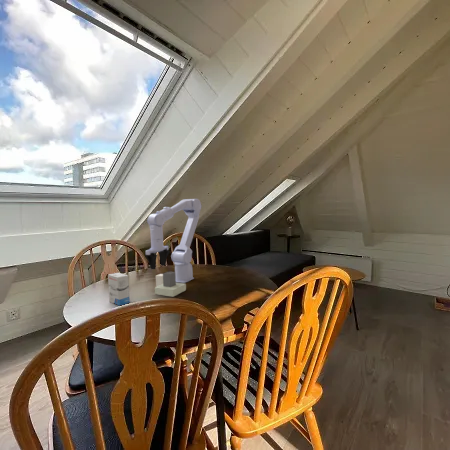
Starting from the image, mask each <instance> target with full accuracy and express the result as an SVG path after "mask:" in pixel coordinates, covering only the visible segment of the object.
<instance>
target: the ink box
mask: <svg viewBox="0 0 450 450" xmlns="http://www.w3.org/2000/svg"><path fill="white" fill-rule="evenodd" d="M107 281H108V297H109V303H111V302H112V304H114V303H115V304H114V305H116V304H117V306H119V307H121V306H123V305H124V306H125V305H126V304H129V303H130V301H131V300H130V299H131V298H130V287H129V275H127V274H124V273H121V272H115V273H109V274H107ZM120 305H121V306H120Z"/></svg>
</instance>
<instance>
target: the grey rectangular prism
mask: <svg viewBox="0 0 450 450" xmlns="http://www.w3.org/2000/svg"><path fill="white" fill-rule="evenodd" d="M162 274H163V286H165V287H172V286H174V285H176V283H177V282H176V276H175V271H170V270H169V271H165V272H162Z"/></svg>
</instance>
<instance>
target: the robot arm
mask: <svg viewBox="0 0 450 450" xmlns="http://www.w3.org/2000/svg"><path fill="white" fill-rule="evenodd" d="M162 208H163V209H161V210H156V212H155V213H151V214H149V215H148V217H147V219H146V221H147V222H146V223H147V224H148V227H149V230H150V231H149V232H150V247H149V249H147V250H145V254H144V255H145V258H146V260H147V261H148V264H149V267H150V269H151V270H156V267H157V264H156V263H157V258H158V256H159V259H160V260H159V261H160V265H161V266H164V267H165V266H166V265H167V260H168V256H169V254H170V250H169V245H164V234H163V233H164V232H163V231H164V230H163V229H164V228H163V226H164V224H165V223H166V222H168V220H170V219H172V218H173V217H174V216H175V214H176V213H179V212H180V211H183V212H184V213H185V215H186V216H187V217H188V218H187V220H186V224H185V227H184V230H183V233H182V236H181V239H180V243H179V244H178V245H177V246H175V248H174V250H173V252H172V253H171V255H170V257H171V261H172V262H173V265H174V272H175V276H176V283H183V284H186V283H189V282H190V281H191V280H194V279H195V277H193V276H194V273H193V265H192V263H191V262H192V260H193V259H192V258H193V250H192V249H191V248H190V247H191V246H192V245H191V244H192V242H193V239H194V234H195V232H196V229H197V225H198V222H199V218H200V213H201V210H202V202H201V200H200V199H199V198H187V199H186V198H183V199H181V200H180V201H179V202H177V203H175V204H174V205H173V206H171V207H170V206H164V207H162ZM155 253H158V254H155Z"/></svg>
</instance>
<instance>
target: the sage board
mask: <svg viewBox="0 0 450 450" xmlns="http://www.w3.org/2000/svg"><path fill="white" fill-rule="evenodd" d="M186 290H187V284H186V283H180V282H176V285H174V286H172V287H165V286H163V284H162V285H160V286H157V287H156V286H155V287H154V294H155V295H159V296H164V297H165V296H166V297H175V296H178V295H179V294H181V293H183V292H185V291H186Z"/></svg>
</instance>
